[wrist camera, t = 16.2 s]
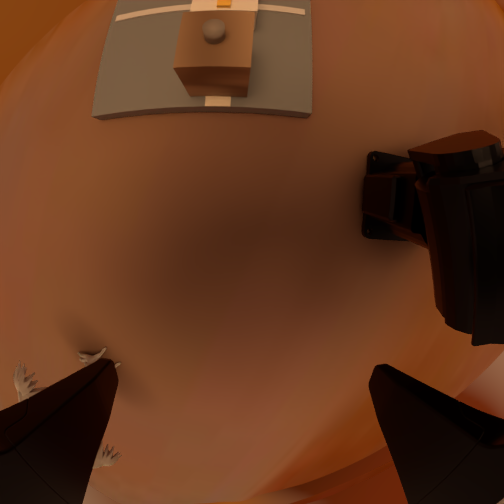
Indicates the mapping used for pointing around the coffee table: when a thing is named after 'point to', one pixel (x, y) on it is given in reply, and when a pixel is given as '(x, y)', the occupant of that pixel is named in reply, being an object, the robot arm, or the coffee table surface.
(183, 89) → the board
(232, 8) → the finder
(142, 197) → the coffee table surface
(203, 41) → the wooden knobbed box
